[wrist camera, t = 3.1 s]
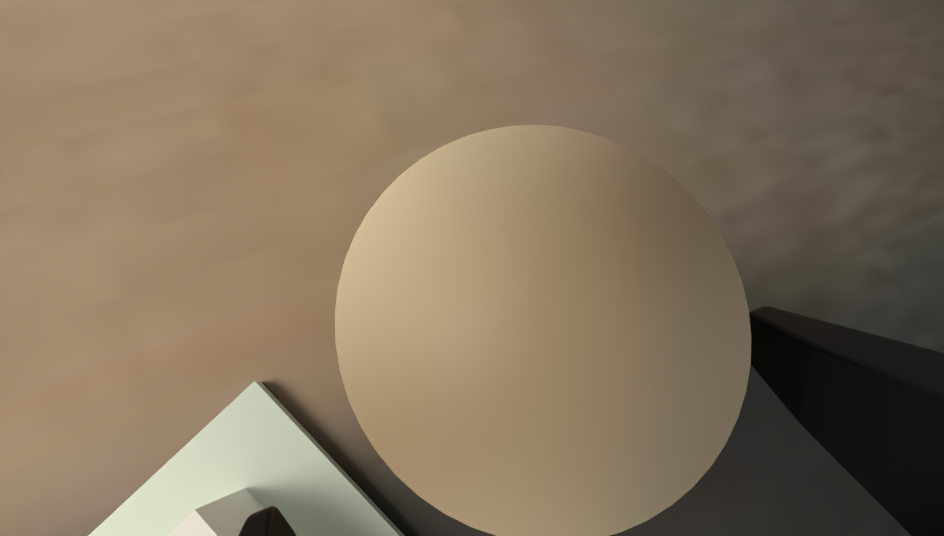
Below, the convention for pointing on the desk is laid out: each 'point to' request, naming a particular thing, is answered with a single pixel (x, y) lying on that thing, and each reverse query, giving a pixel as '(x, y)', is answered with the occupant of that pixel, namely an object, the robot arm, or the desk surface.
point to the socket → (249, 481)
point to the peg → (543, 333)
